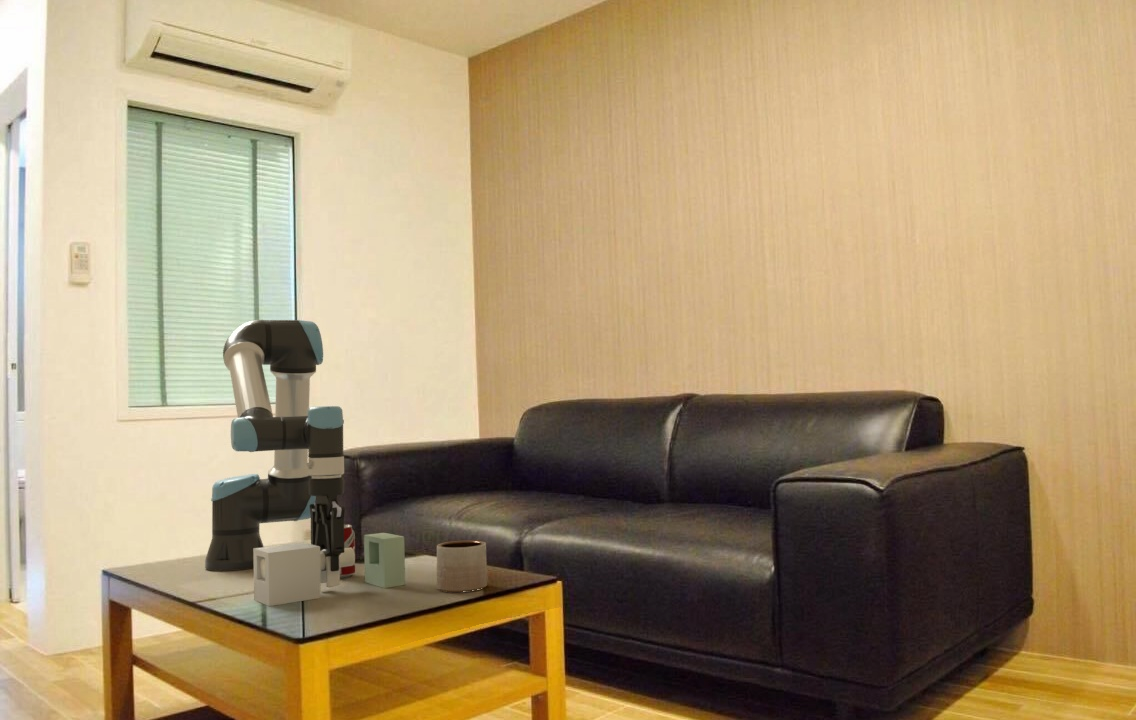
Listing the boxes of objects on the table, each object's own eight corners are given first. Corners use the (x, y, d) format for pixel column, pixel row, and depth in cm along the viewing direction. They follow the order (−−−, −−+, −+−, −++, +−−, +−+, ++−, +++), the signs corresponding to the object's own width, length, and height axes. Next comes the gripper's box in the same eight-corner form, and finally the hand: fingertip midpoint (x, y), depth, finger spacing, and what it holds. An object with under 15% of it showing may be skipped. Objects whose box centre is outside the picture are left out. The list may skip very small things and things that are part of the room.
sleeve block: (253, 599, 187) (253, 548, 188) (304, 591, 194) (303, 542, 194) (268, 606, 180) (268, 552, 181) (320, 597, 187) (320, 546, 187)
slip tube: (259, 578, 186) (259, 556, 186) (346, 565, 198) (346, 545, 198) (267, 581, 182) (267, 558, 182) (355, 568, 194) (355, 547, 195)
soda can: (338, 580, 206) (337, 528, 207) (320, 577, 210) (319, 526, 211) (361, 575, 212) (360, 525, 212) (343, 573, 216) (342, 523, 217)
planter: (444, 595, 185) (443, 549, 186) (431, 586, 195) (430, 543, 196) (494, 590, 190) (492, 544, 190) (478, 581, 200) (477, 538, 200)
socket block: (364, 582, 203) (364, 535, 204) (384, 579, 206) (383, 532, 207) (384, 588, 195) (383, 539, 196) (405, 584, 198) (404, 536, 199)
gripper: (294, 476, 199) (295, 581, 197) (326, 479, 184) (328, 592, 183) (326, 474, 203) (327, 576, 202) (360, 477, 189) (361, 587, 188)
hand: (327, 584), depth 192 cm, fingers open, 5 cm apart
